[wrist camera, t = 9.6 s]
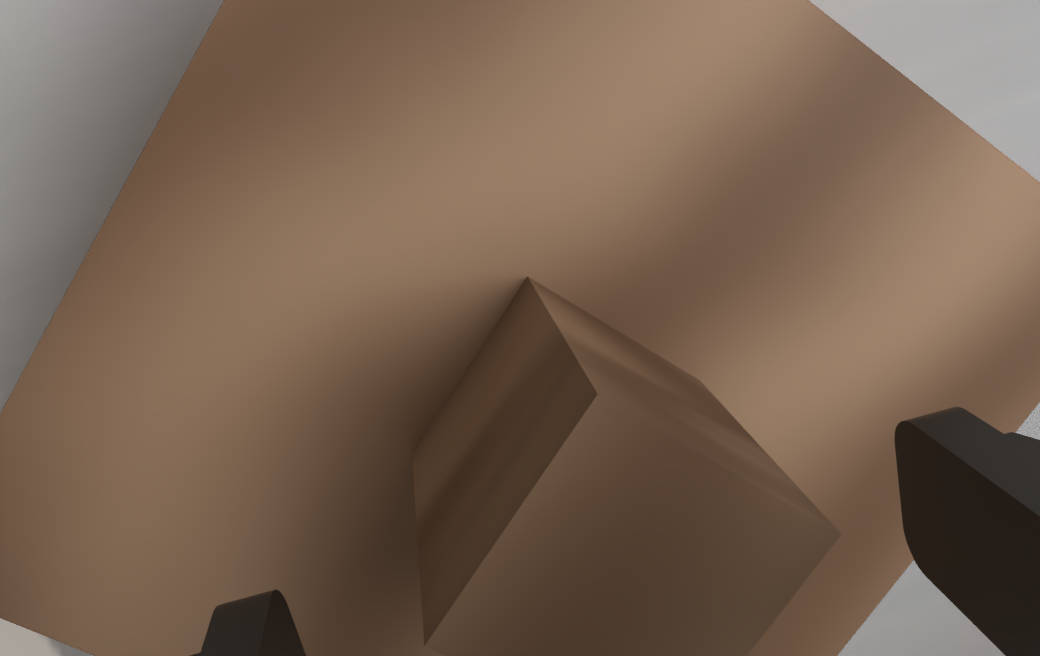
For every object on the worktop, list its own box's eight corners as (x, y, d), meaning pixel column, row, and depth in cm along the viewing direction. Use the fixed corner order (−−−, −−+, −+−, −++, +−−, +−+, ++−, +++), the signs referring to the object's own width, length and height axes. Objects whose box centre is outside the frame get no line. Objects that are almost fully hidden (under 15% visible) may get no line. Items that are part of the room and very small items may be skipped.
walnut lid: (1112, 256, 17) (1472, 364, 11) (646, 847, 19) (750, 1168, 14) (398, -301, 12) (408, -568, 7) (-67, 554, 15) (-323, 846, 10)
